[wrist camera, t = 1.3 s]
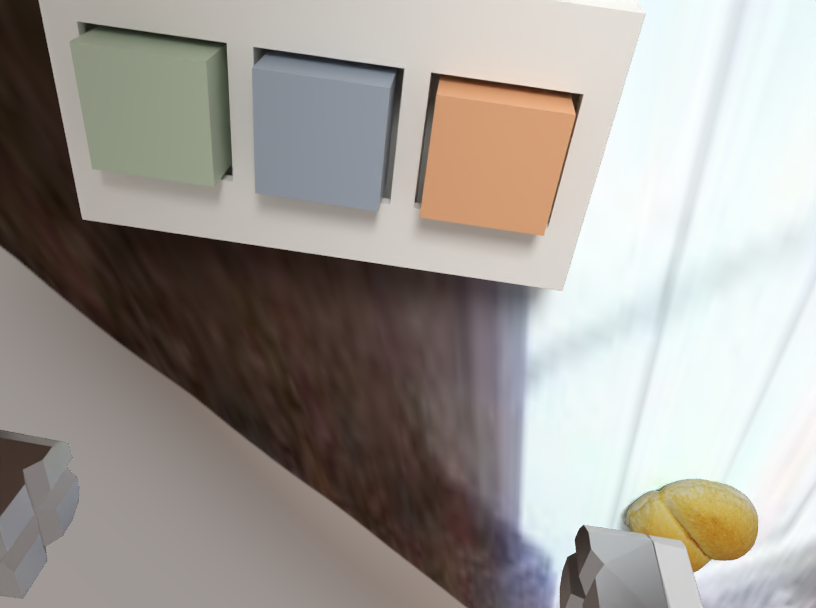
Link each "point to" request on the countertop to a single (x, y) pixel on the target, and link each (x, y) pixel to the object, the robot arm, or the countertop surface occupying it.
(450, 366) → the countertop surface
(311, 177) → the key slate
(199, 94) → the key sage
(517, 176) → the key terracotta
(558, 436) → the countertop surface
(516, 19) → the keypad
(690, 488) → the bread roll
